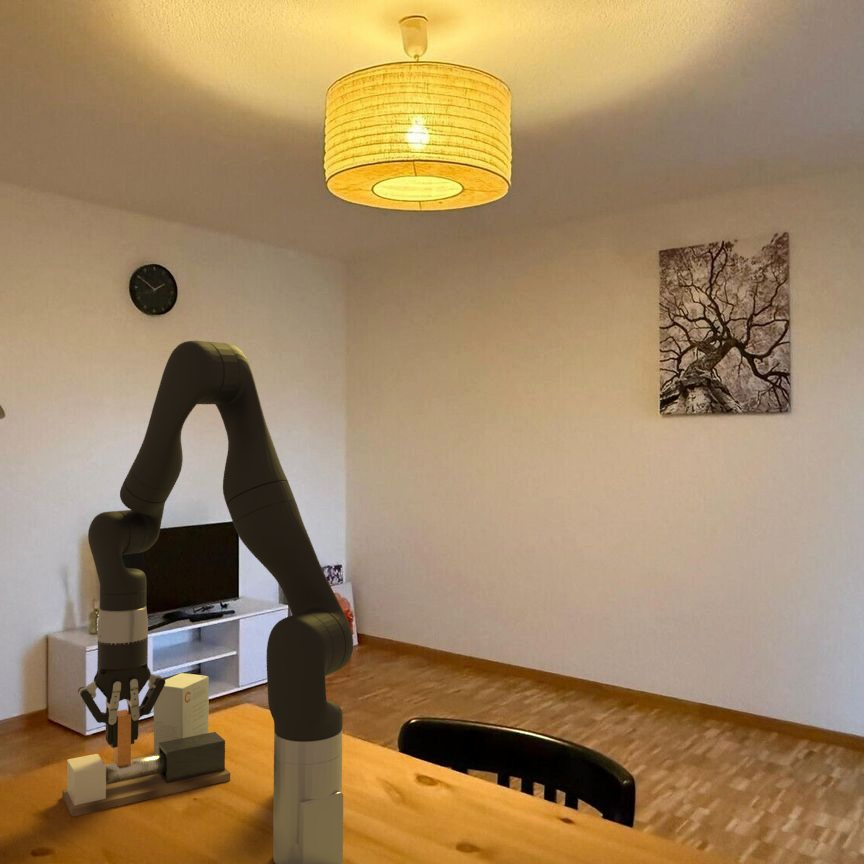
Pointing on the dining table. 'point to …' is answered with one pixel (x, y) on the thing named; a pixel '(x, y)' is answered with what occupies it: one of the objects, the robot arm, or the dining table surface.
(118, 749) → the sliding bolt
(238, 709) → the dining table surface
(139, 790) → the walnut board
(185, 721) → the small box
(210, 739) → the dark hollow rectangular block
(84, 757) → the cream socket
